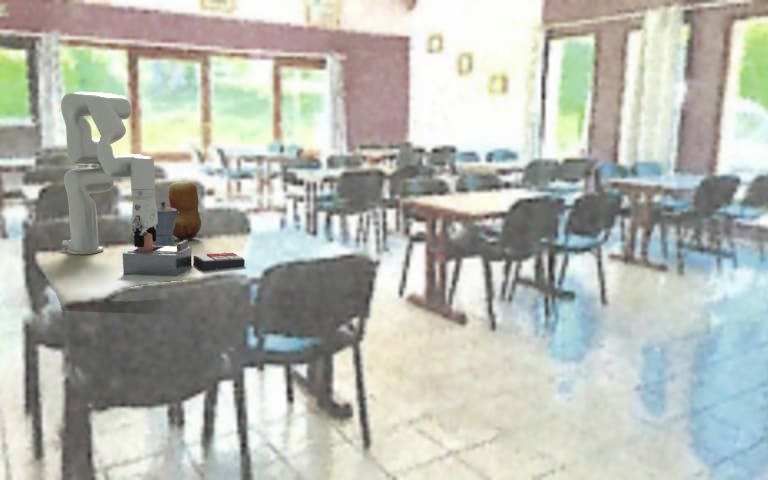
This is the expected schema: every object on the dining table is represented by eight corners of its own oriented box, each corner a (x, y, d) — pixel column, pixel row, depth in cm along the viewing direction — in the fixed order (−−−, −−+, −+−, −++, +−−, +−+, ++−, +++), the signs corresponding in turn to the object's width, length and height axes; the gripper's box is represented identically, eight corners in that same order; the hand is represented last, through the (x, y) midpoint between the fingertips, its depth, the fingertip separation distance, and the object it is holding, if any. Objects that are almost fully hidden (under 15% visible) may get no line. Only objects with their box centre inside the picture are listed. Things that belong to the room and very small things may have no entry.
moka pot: (174, 258, 247) (172, 204, 244) (136, 255, 250) (134, 202, 247) (187, 253, 256) (185, 201, 253) (150, 250, 259) (148, 199, 256)
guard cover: (156, 252, 223) (155, 243, 222) (166, 247, 231) (165, 239, 230) (179, 253, 222) (179, 244, 222) (188, 248, 230) (188, 239, 230)
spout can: (150, 262, 225) (148, 234, 223) (133, 262, 226) (131, 234, 224) (156, 259, 230) (154, 231, 228) (139, 259, 231) (136, 231, 229)
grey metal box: (123, 274, 222) (122, 252, 221) (141, 264, 236) (140, 244, 234) (176, 276, 221) (175, 254, 219) (191, 266, 234) (191, 246, 233)
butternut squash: (163, 239, 283) (161, 180, 279) (192, 235, 292) (190, 178, 288) (178, 244, 273) (176, 182, 269) (208, 240, 282) (206, 181, 278)
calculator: (245, 257, 236) (203, 259, 227) (244, 269, 236) (202, 272, 228) (233, 251, 245) (193, 253, 236) (233, 263, 245) (192, 265, 237)
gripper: (143, 197, 215) (145, 249, 218) (164, 191, 232) (166, 239, 235) (120, 196, 216) (123, 248, 219) (143, 190, 233) (145, 238, 236)
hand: (145, 243), depth 227 cm, fingers open, 9 cm apart
